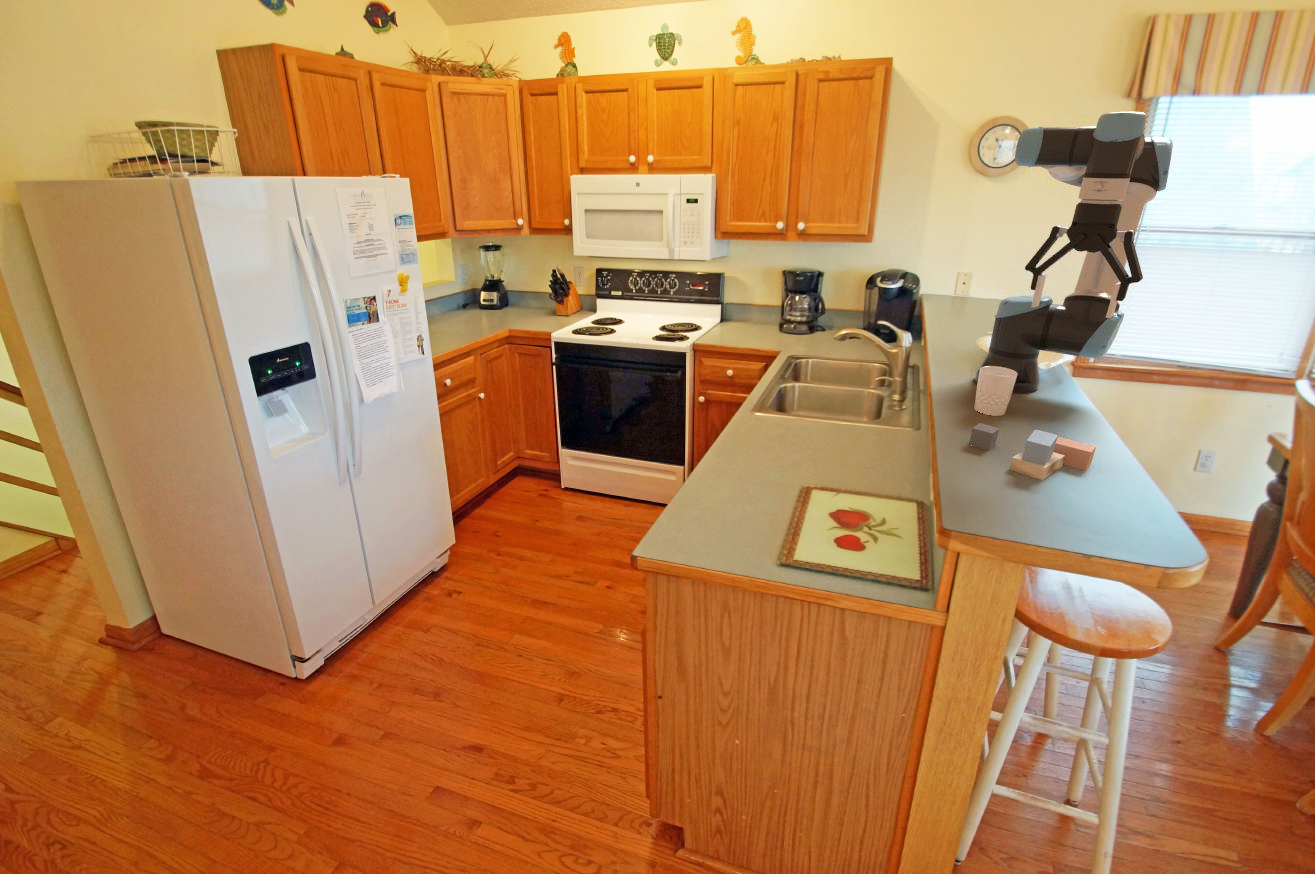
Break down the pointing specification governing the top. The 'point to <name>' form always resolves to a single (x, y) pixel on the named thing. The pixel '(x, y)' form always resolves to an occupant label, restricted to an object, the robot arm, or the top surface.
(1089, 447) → the terracotta block
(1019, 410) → the top surface
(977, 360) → the top surface
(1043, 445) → the blue block
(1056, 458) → the maple block
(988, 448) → the charcoal block
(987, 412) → the white cup
